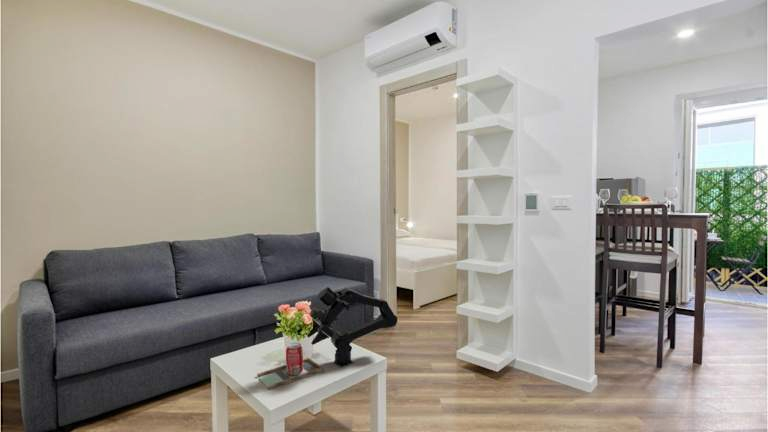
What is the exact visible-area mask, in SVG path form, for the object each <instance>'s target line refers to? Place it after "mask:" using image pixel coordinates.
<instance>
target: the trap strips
mask: <svg viewBox="0 0 768 432" xmlns="http://www.w3.org/2000/svg"><path fill="white" fill-rule="evenodd" d="M303 369H306V371H308V372H310V371H313V370H316V369H317V368H316V367H314V366H313V365H312V364H310V363H309V362H304V363H303ZM274 373H276V374H277V375H278V376H279V377H280V378H281V379H283V380H287V379H290V378H291V377H290V376H289V375H287V373H285V371H283V370H280V371H277V372H274Z"/></svg>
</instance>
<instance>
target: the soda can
mask: <svg viewBox="0 0 768 432" xmlns="http://www.w3.org/2000/svg"><path fill="white" fill-rule="evenodd" d="M303 352H304V351H303V347H302V344H301V343H300V342H292V343H288V345H287V346H286V349H285V360H286V361H285V365H286V367H287V368H286V372H287V373H286V374H288V375H291V376H298V375H300V374H301V373H302V372H303V370H304V367H303V359H304V353H303Z"/></svg>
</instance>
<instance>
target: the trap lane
mask: <svg viewBox="0 0 768 432" xmlns="http://www.w3.org/2000/svg"><path fill="white" fill-rule="evenodd" d="M306 362H308V363H310V364H311V365H312V366H314V367H315V368H317V369H316V370H313V371H310V372H309V371H308V372H305V373H302V374H301V373H300V374H297V375H295V376H293V377H290V379H287V380H284V381H281V382H278V383H275V384H272V385H269V387H268V390H273V389H276V388H278V387H282V386H284V385H286V384H287V385H288V384H289V383H293V382H296V381H298V380H302V379H304V378H307V377H309V376H312V375H316V374H319V373H321V372H323V371H324V368H323V367H322V366H321V365H320V364H319V363H317V362H315V361H314V360H313V359H311V358H310V357H307V359H306V358H303V363H306ZM281 370H282V371H283V370H287V367H286V364H284V365H281V366H278V367H275V368H271V369H268V370H264V371H262V372H259V373H258V372H257V374H256V375H257V376H256V377H257V378H259V377H263V376H266V375H269V374H272V373H275V372H278V371H281Z"/></svg>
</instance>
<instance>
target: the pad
mask: <svg viewBox="0 0 768 432" xmlns="http://www.w3.org/2000/svg"><path fill="white" fill-rule="evenodd" d="M258 379H259V380H260V381H261V382H262V383H263V385H265V386H266V388H269V385H272V384H275V383H278V382H281V381H284V380H283V379H281V378H280V377H279V376H278V375H277V374H276V373H275V372H274V373H270V374H267V375H264V376H261V377H258Z"/></svg>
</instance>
